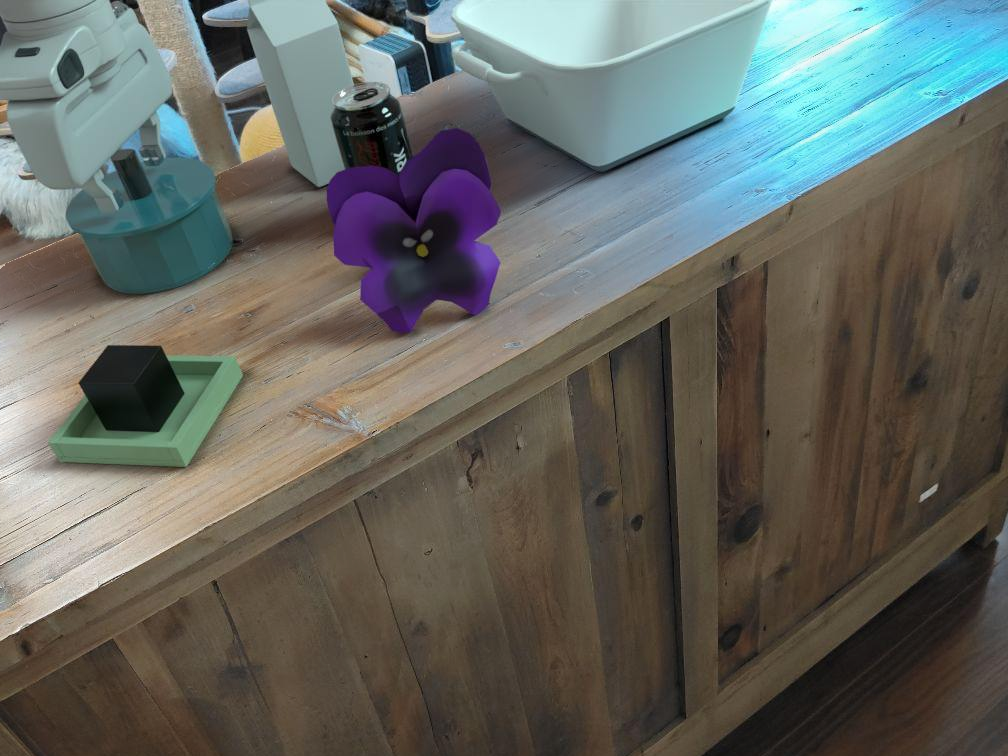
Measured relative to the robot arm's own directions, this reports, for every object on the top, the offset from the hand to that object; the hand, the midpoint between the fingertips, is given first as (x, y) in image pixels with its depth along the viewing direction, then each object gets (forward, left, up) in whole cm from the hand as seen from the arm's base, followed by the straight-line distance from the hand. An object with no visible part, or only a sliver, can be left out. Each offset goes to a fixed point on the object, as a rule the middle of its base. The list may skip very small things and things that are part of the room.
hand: (135, 186), depth 98 cm
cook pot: (0, 0, -8) cm, 8 cm away
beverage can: (+22, +8, -8) cm, 25 cm away
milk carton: (+12, +18, -8) cm, 23 cm away
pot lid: (0, 0, -1) cm, 1 cm away
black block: (+11, -25, -7) cm, 28 cm away
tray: (+11, -25, -8) cm, 28 cm away
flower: (+30, -6, -8) cm, 32 cm away
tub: (+43, +26, -8) cm, 51 cm away
